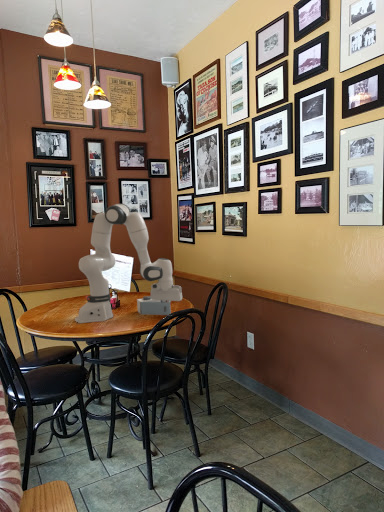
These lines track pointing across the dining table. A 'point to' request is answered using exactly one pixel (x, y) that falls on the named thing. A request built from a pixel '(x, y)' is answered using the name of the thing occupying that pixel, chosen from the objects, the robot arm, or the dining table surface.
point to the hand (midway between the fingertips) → (167, 307)
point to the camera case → (145, 299)
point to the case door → (155, 308)
